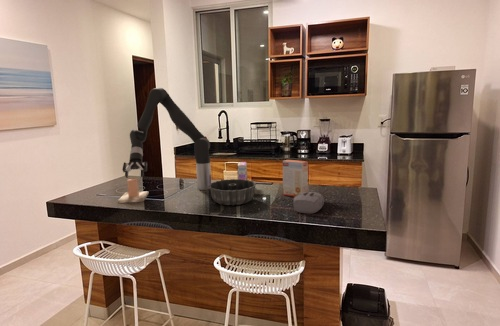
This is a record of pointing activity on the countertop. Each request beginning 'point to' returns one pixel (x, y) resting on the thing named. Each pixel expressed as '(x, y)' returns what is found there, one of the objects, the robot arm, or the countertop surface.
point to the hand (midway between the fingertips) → (134, 176)
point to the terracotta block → (133, 187)
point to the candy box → (242, 170)
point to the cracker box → (295, 177)
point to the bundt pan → (232, 191)
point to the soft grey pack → (308, 202)
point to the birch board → (139, 198)
